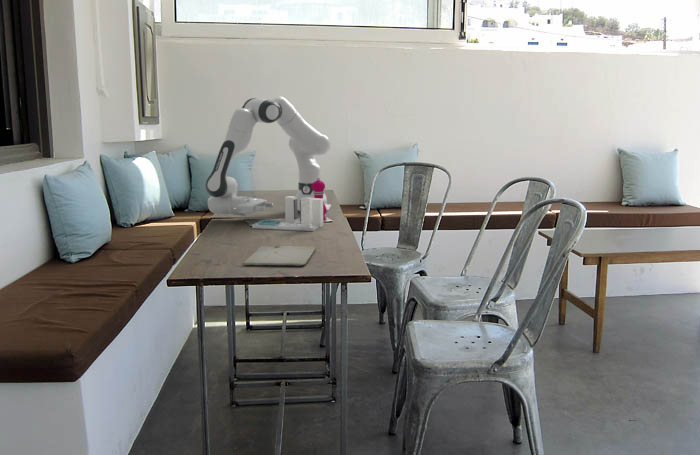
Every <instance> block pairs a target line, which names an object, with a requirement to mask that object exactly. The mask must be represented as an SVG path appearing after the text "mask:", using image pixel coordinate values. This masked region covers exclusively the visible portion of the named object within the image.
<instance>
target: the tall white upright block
mask: <svg viewBox="0 0 700 455" xmlns="http://www.w3.org/2000/svg"><path fill="white" fill-rule="evenodd" d="M284 214H285V216H284V217H285V218H284V220H285V222H284V223H298V219H299V217H298V216H299V215H298V214H299V213H298V205H297V199H296V195H295V196H294V195H293V196H292V195H287V196H285V197H284Z"/></svg>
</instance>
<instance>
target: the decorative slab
mask: <svg viewBox="0 0 700 455" xmlns="http://www.w3.org/2000/svg"><path fill="white" fill-rule="evenodd" d="M316 248H317V246H299V245H297V246H295V245H284V246H281V245H274V246H269V245H261V246H260V247H259V248H258V249H256V251H255V252H253V253H252V254H251V255H250V256H249V257H248V258H247V259H246V260H245V261H244V262H243V266H297V267H300V266H301V267H302V266H304V265H306V264H307V263H308V261H309V260H310V258H311V256H313V253H314V252H315V250H316Z"/></svg>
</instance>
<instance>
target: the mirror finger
mask: <svg viewBox="0 0 700 455" xmlns="http://www.w3.org/2000/svg"><path fill="white" fill-rule="evenodd" d="M313 224H319V228H321V227H323V226H324V221H323V199H321V198H314V199H313Z"/></svg>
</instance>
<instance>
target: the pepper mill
mask: <svg viewBox="0 0 700 455" xmlns="http://www.w3.org/2000/svg"><path fill="white" fill-rule="evenodd" d="M312 188H313V190H314V191H313V192H314V193H313V194H314V197H315V198H321V199H323V194H324V193H325V189H326V184H325V182H324V181H322V180H321V181H320V178H319V177H318V178H317V181H315V182H314V183H313V184H312ZM327 211H328V210H327V209H326V206H325V204H324V201H323V222H325V221H327V216H326V214H327Z"/></svg>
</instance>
